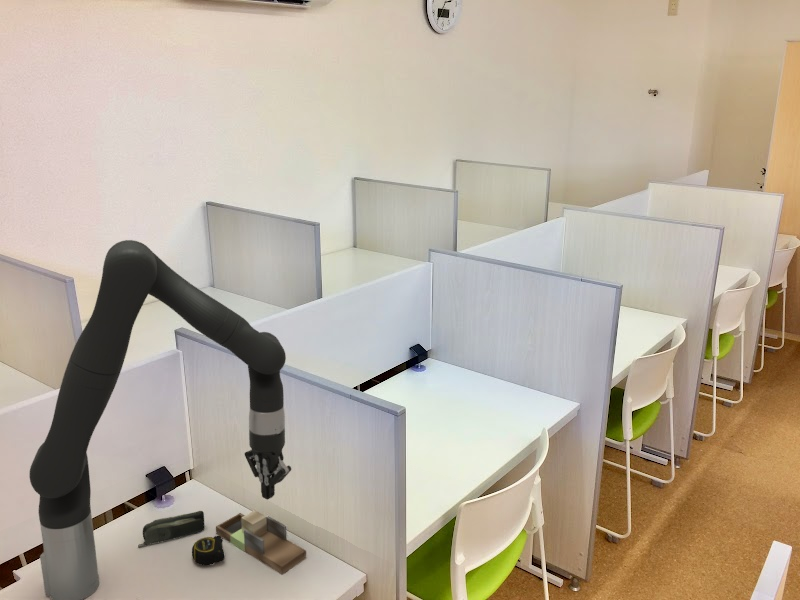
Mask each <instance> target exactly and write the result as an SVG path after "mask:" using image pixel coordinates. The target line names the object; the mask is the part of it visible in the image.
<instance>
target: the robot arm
mask: <svg viewBox="0 0 800 600" xmlns="http://www.w3.org/2000/svg"><path fill="white" fill-rule="evenodd" d="M98 289H99V290H98V293H97V297H96V301H95V303H94V304H95V305H94V308H93V311H92V313H91V316H90V317H89V320H88V322H87V323H86V325H85V326H84V328H83V330H82V332H81V333H80V334H79V337H78V339H77V340H76V343H75V345H74V347H73V348H72V349H73V350H72V351H71V354H70V357H69V359H68V362H67V365H66V367H65V371H64V373H63V378H62V381H61V384H60V387H59V391H58V395H57V399H56V403H55V408H54V413H53V416H52V417H53V418H52V421H51V425H50V428H49V431H48V433H47V436H46V438H45V440H44V442H43V443H42V444H41V445H40V446H39V448H38V449H37V452H36V454H35V455H34V458H33V461H32V462H31V465H30V469H29V482H30V485H31V487H32V488H33V490H34V491H35V492H36V493H37V494H38V495H39V502H38V503H39V504H38V517H39V524H40V531H41V538H42V546H43V547H42V548H43V552H42V553H41V554H40V556H39V560H40V566H41V573H42V580H43V587H44V594H45V597H50V598H51V599H52V600H84V599H86V598H89V597H90V596H91V595H92V594H94V593H95V592H96V590H97V589H98V587H99V584H100V578H99V576H100V574H99V569H98V561H97V560H98V559H97V551H96V542H95V533H94V525H93V518H92V509H91V508H92V507H91V495H92V494H91V493H92V492H91V491H92V490H91V480H90V469H89V459H88V454H87V453H88V452H87V451H88V448H89V444H90V443H91V442H90V441H91V438H92V436H93V433H94V432H95V429H96V427H97V425H98V423H99V421H100V420H101V417H102V416H103V414H104V411H105V410H106V408H107V405H108V403H109V401H110V399H111V397H112V394H113V392H114V390H115V387H116V384H117V382H118V380H119V377H120V375H121V371H122V370H123V369H122V368H123V365H124V363H125V359H126V356H127V353H128V348H129V344H130V339H131V335H132V332H133V331H132V330H133V327H134V325H135V323H136V320H137V318H138V316H139V313H140V312H141V309H142V307H143V305H144V303H145V301H146V299H147V297H148V295H150V296H151V297H154V298H155V299H157V300H158V301H160V302H161V303H163V304H165V305H166V306H167V307H169V309H171V310H172V311H174V313H176V314H177V315H178V316H179V317H180V318H182V319H183V320H184V321H185V322H186V323H188V325H190V326H191V327H192V328H193V329H195V330H197V332H199V333H200V334H202V335H203V336H205V337H206V338H208V339H210V340H212V341H213V342H215V343H216V344H217V345H219V346H221V347H223V348H225V349H227V350H228V351H230V352H231V353H232V354H233V355H234V356H235V357H237V358H238V359H239V360H241V361H242V363H244V364H246V365H247V369H248V370H247V371H248V377H249V412H248V413H249V414H248V431H249V432H248V436H249V438H248V439H249V447H250V448H251V449H249V450H247V451H245V452H244V457H245V460H246V461H247V463H248V465H249V467H250V470H251V472H252V474H253V476H254V477H255V478H258V481H259V482H260V492H261V498H263V499H265V500H270V499H272V498H273V497H274V496H275V494H276V492H275V490H276V489H275V486H276V484H278V483H281V482H283V480H284V479H285V478H286V477H288V474H289V473H290V472H291V471H292V466H290V465H286V463H285V462H284V453H283V448H284V447H285V444H286V416H285V415H286V413H285V407H284V406H285V405H284V400H285V399H284V384H283V382H282V379H281V370H282V369H283V368H284V367H285V364H286V359H287V357H286V356H287V355H286V351H285V349H284V347H283V346H282V344H281V343H280V340H279V339H278V338H277V337H276V336H275V335H274V334H273V333H271V332H267V331H262V332H261V331H260V332H259V331H258V330H256V329H255V328H254V327H253V326H252V325H251V324H250V323H249V321H247V320H246V319H245V318H244V317H243V316H241V315H239V314H238V313H237V312H235V311H233V310H232V309H231V308H229V307H227V306H226V305H224V304H223V303H221V302H220V301H218V300H216V299H215V298H213V297H212V296H210V295H208V294H207V293H206V292H204V291H202V289H200V288H198V287H196V286H195V285H193V284H192V283H191V282H189V281H187V280H186V279H185V278H184V277H182V276H181V275H179V274H178V273H177V272H176V271H174V270H173V269H172V268H171V267H170V266H169V265H168V264H166V263H165V262H164V261H163V260H162V259H161V258H160V257H159V256H158V255H157V254H155V252H154V251H152V250H151V249H150V248H149V247H148V246H147V245H146V244H144V243H142V242H140V241H138V240H133V239H129V240H128V239H125V240H121V241H119V242H116V243H114V244H113V245H112V246H111V247H110V248H109V249H108V251H107V253H106V255H105V258H104V261H103V267H102V275H101V280H100V284H99V288H98Z"/></svg>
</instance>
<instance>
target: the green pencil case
mask: <svg viewBox="0 0 800 600" xmlns="http://www.w3.org/2000/svg"><path fill="white" fill-rule="evenodd" d="M204 530H205V513H204V511H203V510H198V511H195V512H189V513H184V514H180V515H176V516H169V517H163V518H157V519H155V520H153V521H151V522H149V523H147V524H145V525H144V526H143V527H142V538H143V543H139V544H138V545H137V548H143V547H147V546H149V545H150V546H151V545H154V544H159V543H162V541H163V542H167V541H171V540H174V538H175V539H180V538H185V537H187V536H192V535H197V534H199V533H201V532H203V531H204ZM179 537H180V538H179ZM158 542H159V543H158Z"/></svg>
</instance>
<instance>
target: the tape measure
mask: <svg viewBox="0 0 800 600" xmlns="http://www.w3.org/2000/svg"><path fill="white" fill-rule="evenodd" d="M223 540H224V538H222V537H221V536H219V535H215V536H213V537H212V536H207V537H203V538H200V539H198V540H196V542H194V543H193V546H192V548H191V557H192V560H193V561H194V562H195V564H198V565H199V566H207V567H208V566H211V565H214V564H218V563H221V562H224V561H225V556H226V555H225V550H224V547H223V542H224V541H223Z"/></svg>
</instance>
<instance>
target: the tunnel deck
mask: <svg viewBox="0 0 800 600" xmlns="http://www.w3.org/2000/svg"><path fill="white" fill-rule="evenodd" d="M245 515H246V514H243V513H241V512H240V513H238V514H236V515H234V516H232V517H230V518H229V519H227V520H225V521H223V522H222V523H220V524H218V525H216V526H215V531H216V532H215V534H216V536H221V539H222V538H223V540H225V541H227V542H229V543H230V544H232V543H231V541H230V535H232V534H233V533H235V532H237V531H238V530H240V529H242V520H241V518H242V517H243V516H245ZM266 517H267V532H265V533H264V534H262V535H260V536H259V537H258V536H257V535H255V534H253V533H251V532H250V531H248V530H244V544H245V551H244V552H245V553H246V554H248V555H249V556H251V557H253V558H254V559H256V560H258V561H260V562H261V563H262V564H264V565H266V566H267V567H269V568H270V569H272V570H273V571H276V572H277V573H279V574H280V575H284V574H285V573H287V572H288V571H289V570H291V569H292V568H294V567H295V566H297V565H299V564H300V563H301V562H303V561H304V560H306V559H307V550H306V549H304V548H303V547H301V546H299V545H297V544H296V543H293V542H292V541H290V540H289V539H288V538H287V536H288V535H287V534H288V533H287V525H286V524H283V523H282V522H280V521H278V520H276V519H274V518H272V517H271V516H266Z"/></svg>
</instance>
